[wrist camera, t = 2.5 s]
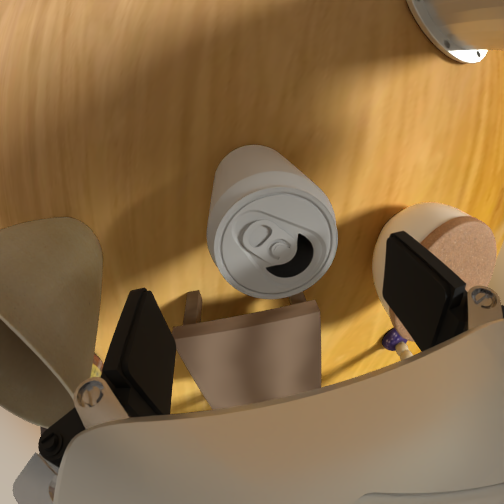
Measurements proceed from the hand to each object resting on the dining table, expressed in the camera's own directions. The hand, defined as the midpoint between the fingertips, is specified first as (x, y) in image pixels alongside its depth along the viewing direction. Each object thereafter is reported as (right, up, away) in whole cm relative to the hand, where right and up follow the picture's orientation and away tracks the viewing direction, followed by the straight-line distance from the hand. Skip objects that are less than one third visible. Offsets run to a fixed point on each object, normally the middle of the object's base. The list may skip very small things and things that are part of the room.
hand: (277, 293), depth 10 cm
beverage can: (-1, +8, +13) cm, 15 cm away
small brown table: (-1, -6, +20) cm, 21 cm away
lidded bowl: (+15, +3, +17) cm, 23 cm away
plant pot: (-19, +2, +14) cm, 24 cm away
